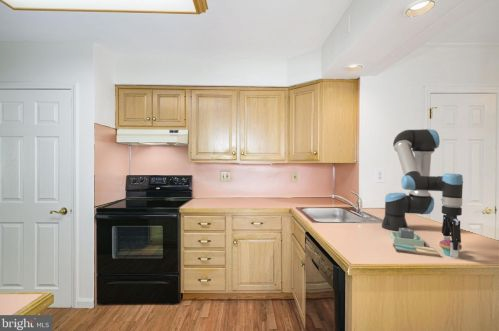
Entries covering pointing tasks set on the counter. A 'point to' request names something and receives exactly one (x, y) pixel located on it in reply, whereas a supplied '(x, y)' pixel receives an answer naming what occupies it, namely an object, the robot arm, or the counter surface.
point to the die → (406, 233)
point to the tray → (416, 241)
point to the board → (416, 250)
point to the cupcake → (447, 247)
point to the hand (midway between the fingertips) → (450, 252)
